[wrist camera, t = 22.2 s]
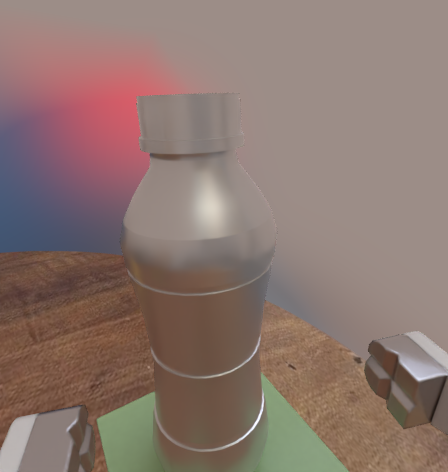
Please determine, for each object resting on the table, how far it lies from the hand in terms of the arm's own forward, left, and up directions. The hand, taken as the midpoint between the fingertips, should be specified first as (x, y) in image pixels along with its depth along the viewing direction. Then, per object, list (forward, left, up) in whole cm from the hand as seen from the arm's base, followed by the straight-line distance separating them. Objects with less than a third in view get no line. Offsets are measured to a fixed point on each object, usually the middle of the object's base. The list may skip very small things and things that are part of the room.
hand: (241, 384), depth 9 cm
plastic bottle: (-2, -6, -13) cm, 14 cm away
